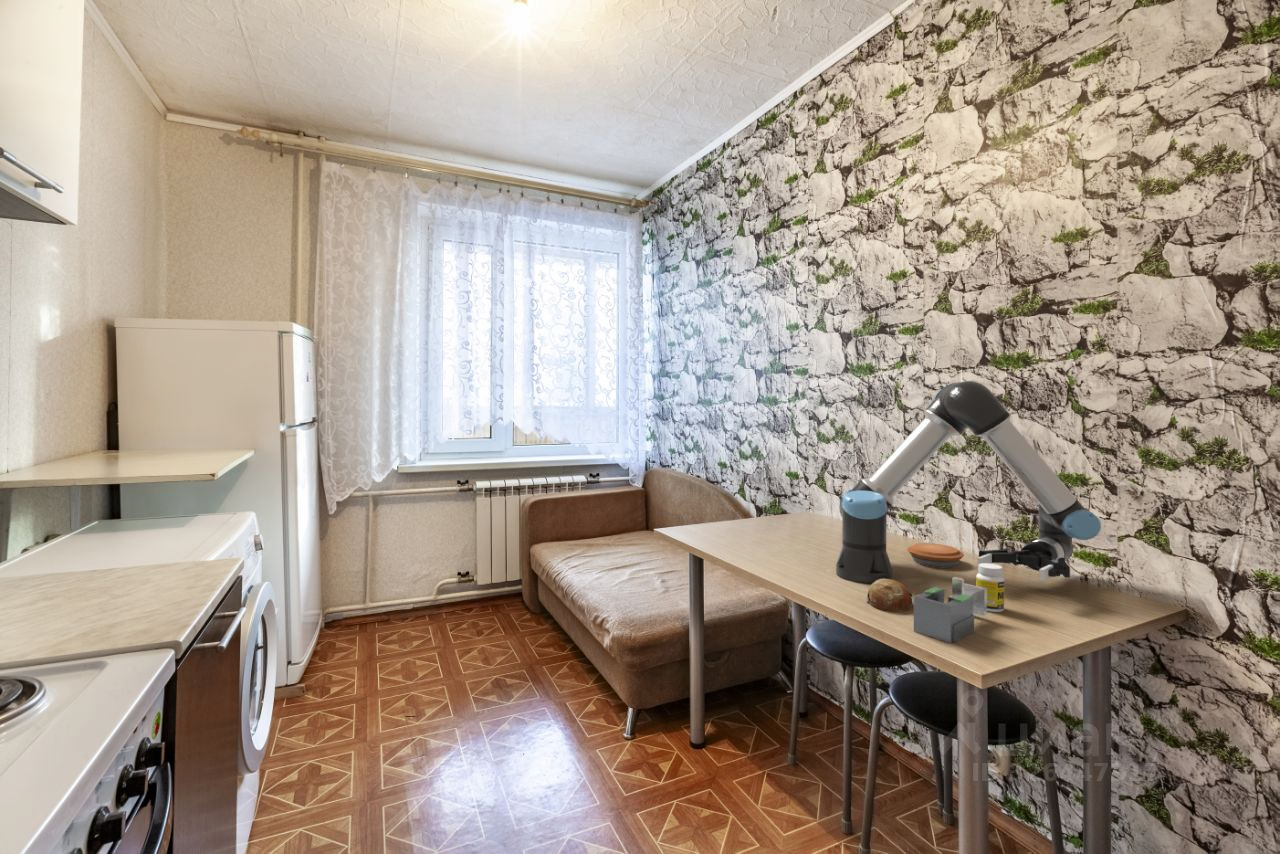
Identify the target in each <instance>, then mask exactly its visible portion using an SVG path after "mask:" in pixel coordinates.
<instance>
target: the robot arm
mask: <svg viewBox="0 0 1280 854" xmlns="http://www.w3.org/2000/svg"><path fill="white" fill-rule="evenodd" d="M1011 416H1012V415H1011V413H1009V412H1008V410H1007V409H1006V408H1005V407H1004V406H1003V404H1002V403H1001V402H1000V401H999V399H998V398H997V396H995V394H993V392H992V391H991V390H990V388H988V387H987V386H986V385H984V384H982V383H980V382H977V381H972V380H968V381H967V380H965V381H962V382H961V381H960V382H952V383H949V384H947V385H945V386H944V387H942V388H941V389H939V391H938V392H937V393H936V394H935V397H934V400H933V401H932V402H931V403H930V404H929V405H928V406H927V407H926V408H925V410H924V419H923V420H921V422H920V423H919V424H918V425H917V426H916V427H915V428H914V429H913V431H911V432H910V433H909V435H908V436H907V437H906V438H905V439H904V440H903V441H902V442H901V443H900V445H899V446H897V448H896V449H894V451H893V452H892V453H891V454H890V455H889V456H888V458H886V460H885V461H883V463H881V465H880V466H879V467H878V468H877V469H876V470H875V472H874V473H872V475H871V476H870V477H868V478H866V477H865V478H861V479H860V480H859V481H858V482H857V483H856V485H855V486H854V487H853V488H852V489H850V490H848V491H846V492H845V493H844V494H843V496H842V497H841V499H840V501H839V513H840V516H841V519H842V521H841V522H842V526H841V527H842V537H841V538H842V541H841V542H842V544H841V545H842V546H841V550H840V553H839V556H838V558H837V562H836V564H835V574H836V575H837V576H838V577H840V578H843V579H846V580H848V581H852V582H859V583H865V584H873V583H874V582H875V581H877V580H879V579H890V580H894V570H893V566H892V563H891V561H890V557H889V554H888V552H887V512H888V511H889V510H890V509H891V508H892V507H893V506H894V497H895V496H896V494H898V492H900V490H901V489H902V488H903V487H904V486H905V485H906V484H907V483H908V482H909V481H910V480H911V479H912V478H913V476H915V474H917V472H918V471H919V470H920V469H921V468H922V467H924V465H925V464H926V463H927V462H928V461H929V460H930V459H931V457H932V456H933V455H935V453H936V452H937V451H938V450H939V449H940V448H941V447H942V446H943V445H944V444H945V442H947V440H948V439H949V438H951V437H955V436H961V434H962V433H963V432H964V431H965V430H966V429H967V428H968V429H969V430H970V431H971V432H972V433H973V434H974V436H975V437H978V438H982V439H983V440H984V441H985V442H986V443H987V445H988V446H989V447H990V448H991V449H992V450H993V452H994V453H995V454H996V455H997V456H998V457H999V459H1000V460H1001V461H1002V462H1003V464H1004V465H1005V466H1006V467H1007V468H1008V469H1009V471H1011V473H1013V475H1014V476H1015V477H1016V478H1017V480H1018V481H1019V482H1020V483H1021V485H1022V486H1023V487H1024V488H1025V489H1026V490H1027V492H1029V495H1030V494H1031V496H1032V497H1033V498H1034V500H1035V501H1036V502H1037V503H1038V504H1037V507H1038V539H1036V540H1034V541H1031V542H1029V543H1026V544H1025V545H1024V546H1023V547H1022V548H1021V550H1011V548H1007V547H1006V548H1001V549H991V550H990V549H989V550H978V557H977V566H978V565H979V564H981V563H989V564H1004V563H1005V564H1013V565H1015V566H1016V565H1018V566H1019V565H1022V566H1026V567H1028V568H1029V569H1031V570H1033V571H1037V572H1038V573H1039V576H1038V577H1039V578H1038V579H1039V581H1040V582H1044V581H1045V582H1046V581H1047V580H1048V579H1050V578H1054V577H1061V576H1063V577H1064V578H1067V579H1068V578H1069V579H1070V578H1071V567H1070V565H1069V564H1068V563H1067V561H1069V560H1070V559H1069V558H1070V557H1071V556H1072V553H1073V548H1072V538H1073V539H1075V540H1076V539H1077V540H1080V541H1087V540H1091V539H1094V538H1095V537H1097V536H1098V535H1099V534H1100V531H1101V528H1102V523H1101V521H1100V519H1099V517H1098V516H1097V515H1096V514H1094V513H1093V512H1091V511H1090V510H1087V509H1086V508H1085V506H1083V504H1082V503H1081V502H1080V501H1079V500H1078V499H1077V497H1075V496H1074V494H1073V493H1072V492H1071V490H1070V489H1069V488H1068V487H1067V486H1066V484H1064V482H1063V481H1062V480H1061V478H1059V476H1058V475H1057V474H1056V473H1055V471H1053V469H1052V468H1051V467H1050V466H1049V465H1048V464H1047V462H1045V460H1044V459H1043V458H1042V457H1041V455H1040V454H1039V453H1038V452H1037V451H1036V449H1034V447H1033V446H1032V445H1031V444H1030V442H1028V440H1027V439H1026V438H1025V436H1024V435H1022V433H1021V432H1020V431H1019V430H1018V428H1017V427H1016V426H1015V425H1014V424H1013V423H1012V422H1011ZM1072 557H1073V556H1072ZM1068 559H1069V560H1068Z"/></svg>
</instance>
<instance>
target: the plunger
mask: <svg viewBox="0 0 1280 854" xmlns="http://www.w3.org/2000/svg"><path fill="white" fill-rule="evenodd" d="M951 581H952V583H951V584H952V587H951V590H952V591H951V594H952V595H949V596H948V597H947V603H948V602H950V601H952V600H953V599H954V598H956V597H958V596H960V595H963V594H965V595H969V596H973V597H974V600H973V614H977V615H980V616H983V617H985V616H987V614H988V611H987V588H983V587H979V586H976V584H975V585H974V584H970V583H966V582H965V579H964V578H961V577H956V576H954V577H952V579H951Z"/></svg>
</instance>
